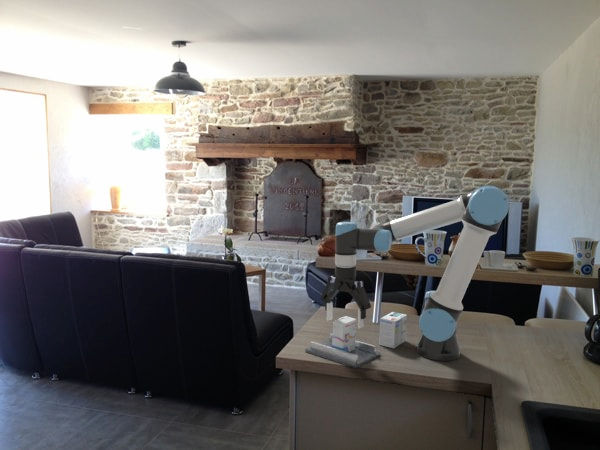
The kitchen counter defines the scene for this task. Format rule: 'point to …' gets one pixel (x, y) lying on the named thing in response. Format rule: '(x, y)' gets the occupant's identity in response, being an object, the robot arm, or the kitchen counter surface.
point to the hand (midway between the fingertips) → (344, 323)
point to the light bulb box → (392, 329)
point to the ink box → (344, 334)
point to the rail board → (352, 358)
